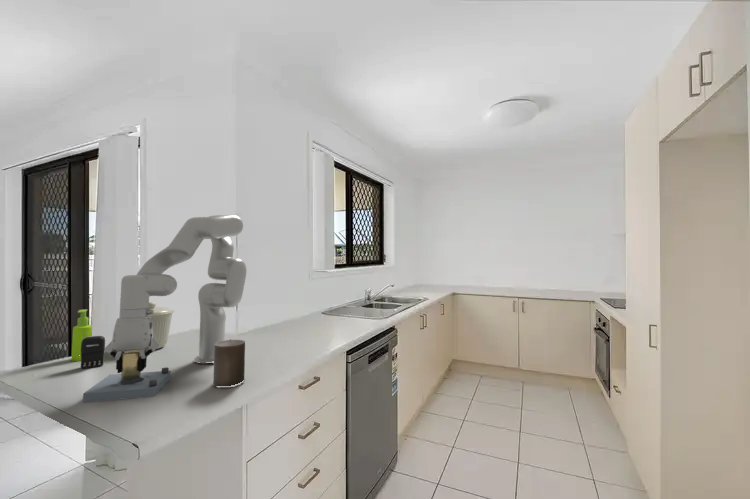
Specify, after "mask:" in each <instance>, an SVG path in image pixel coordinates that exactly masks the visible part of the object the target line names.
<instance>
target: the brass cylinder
mask: <svg viewBox="0 0 750 499" xmlns="http://www.w3.org/2000/svg"><path fill="white" fill-rule="evenodd" d="M139 359H141V356H140V352H139V350H125V352H123V353H122V369H121V372H120V374H121V380H133V379H137V378H139V377H140V375H141V373H142V371H141V372H139V371H138V369H139Z"/></svg>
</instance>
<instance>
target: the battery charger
mask: <svg viewBox="0 0 750 499" xmlns="http://www.w3.org/2000/svg"><path fill="white" fill-rule="evenodd" d="M105 347H106V337H105V336H104V335H92V336H89V337H85V338H83V340H82V343H81V361H80V368H81V369H89V368H90V369H91V368H97V367H102V366H103V365H104V364H105V353H106V351H105V350H104V349H105Z"/></svg>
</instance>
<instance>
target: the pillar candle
mask: <svg viewBox="0 0 750 499" xmlns="http://www.w3.org/2000/svg"><path fill="white" fill-rule="evenodd" d="M245 354H246V341H245V340H244V339H231V338H230V339H227V340H226V339H225V341H221V342H217V343H215V351H214V363H213V381H212V383H213V384H214V385H215V386H231V385H235V384H238V383H240V382H242V381H243V380H244V381H245V366H246V364H245V362H246V360H245V359H246V355H245ZM214 385H213V386H214Z"/></svg>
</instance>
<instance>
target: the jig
mask: <svg viewBox="0 0 750 499" xmlns="http://www.w3.org/2000/svg"><path fill="white" fill-rule="evenodd" d="M169 369H170V368H169V367H167V366H166V367H162V368H161V370H160V371H159V370H158V371H145V372H142V371H141V375H140V377H139V378H137V379H133V380H121V373H117V374H116V373H114V374H109V375H107V376H106V377H104V378H103V379H101V380H100V381H98V383H96V384H94V385H93V386H92V387H90V388H88V389H87V390H86V391H85V392H83V395H82V403H89V402H90V403H91V402H102V401H111V400H112V401H114V400H115V401H116V400H126V399H137V398H149V397H150V398H151V397H155V396H156V395H157V394H158V393H159V392H160V391H161V390H162V388H163V387H164V386H165V385H166V384H167V383H168V382H169V381H170V379H171V372H172V371H171V370H169Z"/></svg>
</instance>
